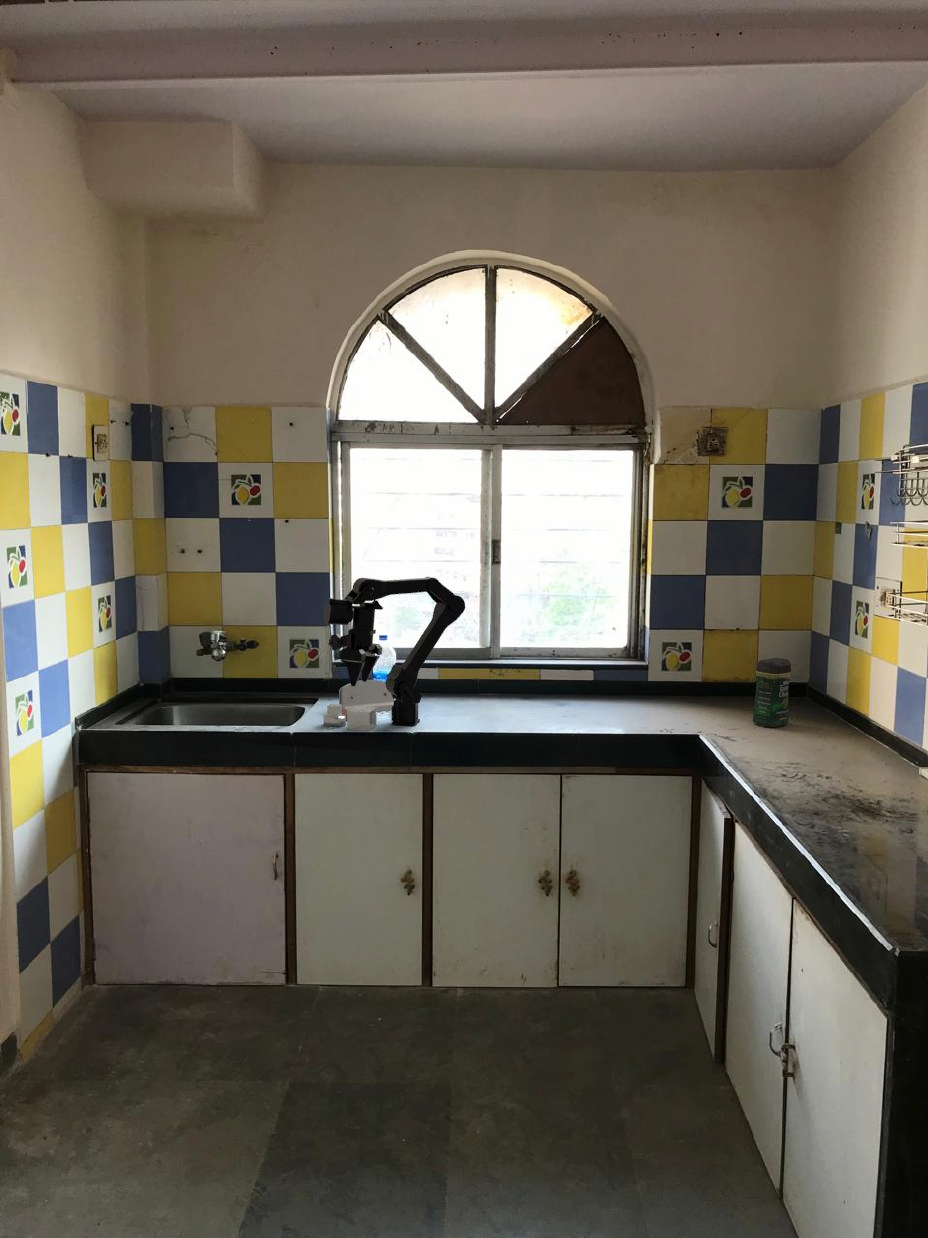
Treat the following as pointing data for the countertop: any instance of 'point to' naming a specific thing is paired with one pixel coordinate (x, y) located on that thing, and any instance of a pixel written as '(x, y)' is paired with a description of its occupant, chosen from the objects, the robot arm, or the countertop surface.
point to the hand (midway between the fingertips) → (358, 683)
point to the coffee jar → (772, 692)
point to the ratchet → (335, 716)
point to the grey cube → (361, 718)
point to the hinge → (366, 695)
